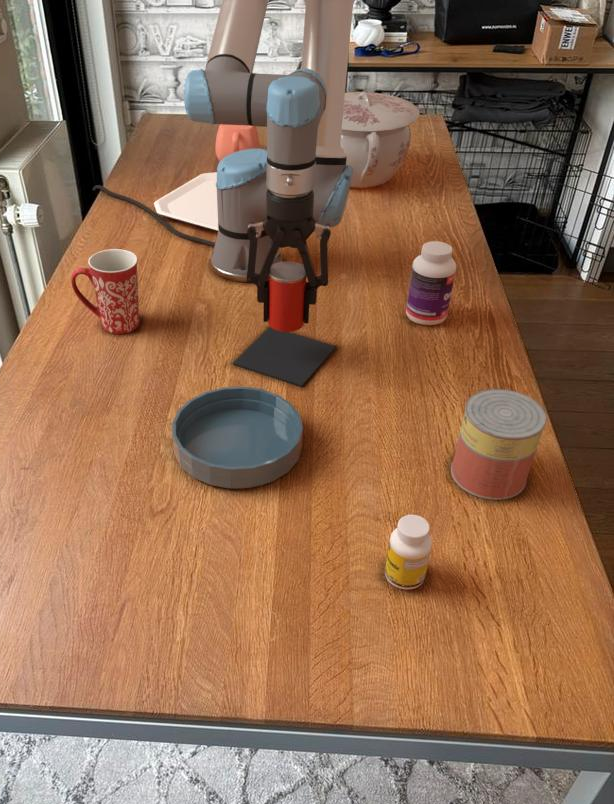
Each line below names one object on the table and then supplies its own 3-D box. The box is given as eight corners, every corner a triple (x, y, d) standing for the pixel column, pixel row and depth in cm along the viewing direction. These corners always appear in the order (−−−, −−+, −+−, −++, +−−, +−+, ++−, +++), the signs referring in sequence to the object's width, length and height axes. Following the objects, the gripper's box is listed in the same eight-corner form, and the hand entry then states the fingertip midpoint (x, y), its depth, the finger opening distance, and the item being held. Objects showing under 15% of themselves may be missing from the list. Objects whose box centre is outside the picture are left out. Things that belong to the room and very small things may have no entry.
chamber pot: (339, 150, 216) (345, 68, 202) (429, 172, 204) (442, 88, 190) (282, 183, 199) (284, 97, 185) (377, 210, 188) (386, 120, 173)
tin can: (259, 321, 138) (260, 269, 131) (287, 308, 141) (288, 257, 134) (284, 336, 134) (286, 284, 127) (312, 323, 137) (315, 271, 130)
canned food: (477, 440, 125) (493, 379, 117) (540, 474, 119) (561, 412, 111) (436, 474, 119) (449, 412, 111) (499, 511, 113) (519, 448, 105)
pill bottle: (446, 330, 149) (459, 260, 139) (403, 325, 150) (414, 256, 140) (447, 308, 155) (460, 240, 145) (406, 304, 156) (416, 236, 146)
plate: (245, 246, 174) (245, 236, 173) (143, 217, 185) (142, 208, 184) (307, 200, 192) (308, 191, 190) (211, 175, 203) (210, 167, 202)
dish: (149, 442, 125) (146, 421, 122) (245, 393, 134) (244, 372, 131) (228, 510, 114) (228, 488, 111) (327, 451, 123) (329, 429, 120)
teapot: (259, 176, 203) (259, 128, 195) (213, 176, 203) (212, 128, 195) (260, 147, 217) (260, 102, 209) (218, 147, 218) (216, 101, 209)
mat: (232, 364, 141) (232, 362, 140) (269, 328, 150) (269, 326, 149) (302, 387, 136) (302, 385, 135) (335, 347, 144) (336, 346, 144)
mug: (146, 311, 154) (139, 247, 145) (143, 336, 148) (135, 271, 138) (82, 312, 154) (71, 248, 145) (76, 337, 147) (64, 272, 138)
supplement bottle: (380, 561, 106) (388, 511, 100) (419, 558, 107) (430, 508, 100) (388, 592, 102) (397, 542, 96) (429, 589, 103) (441, 539, 96)
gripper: (226, 197, 119) (229, 327, 135) (353, 201, 118) (341, 332, 134) (230, 178, 125) (233, 305, 140) (352, 181, 123) (341, 309, 139)
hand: (286, 318), depth 137 cm, fingers closed on tin can, 6 cm apart
